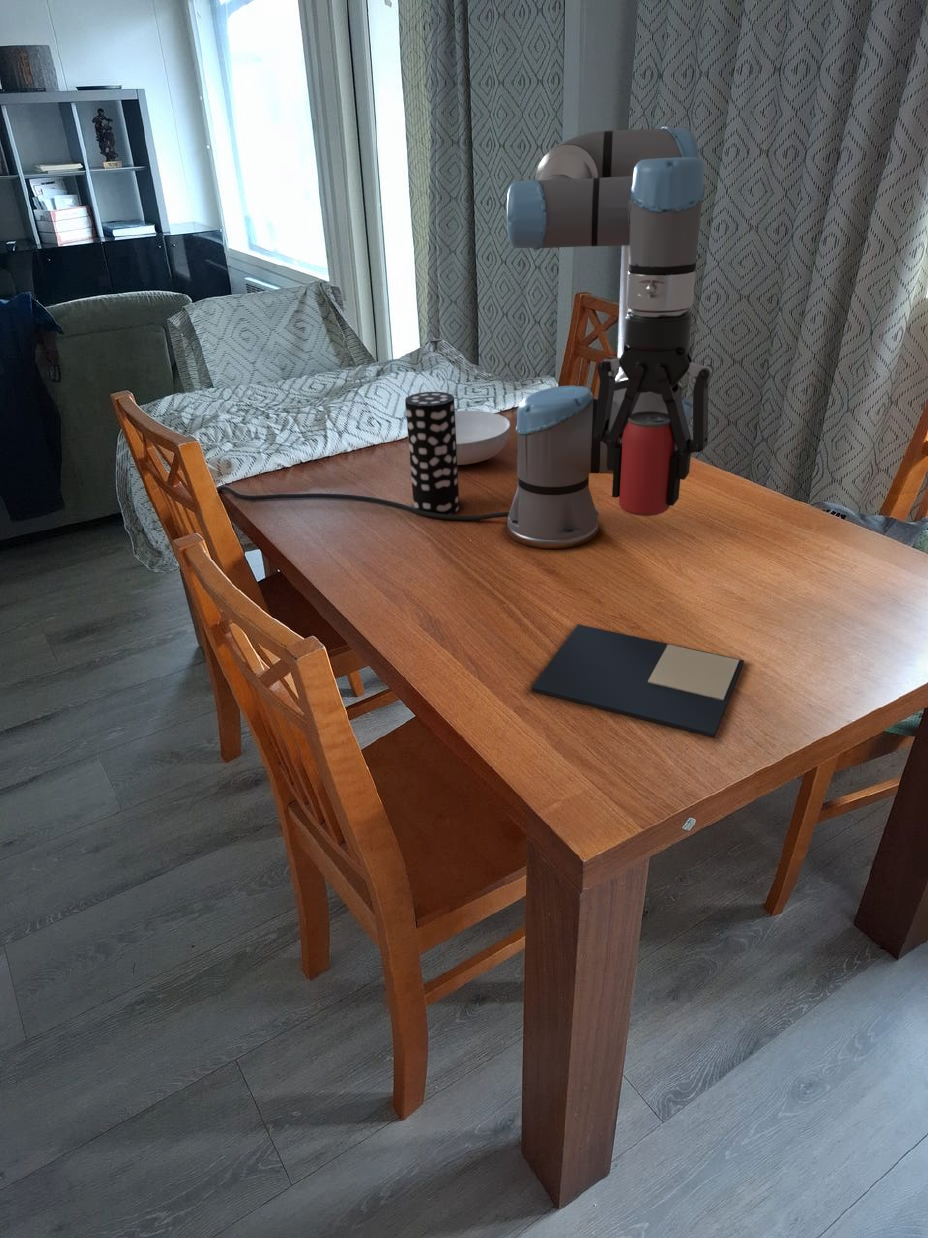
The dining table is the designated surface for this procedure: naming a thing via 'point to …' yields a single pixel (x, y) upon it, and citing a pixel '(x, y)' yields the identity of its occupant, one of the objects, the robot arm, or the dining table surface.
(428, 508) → the spotted tube
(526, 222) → the robot arm
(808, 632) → the dining table surface
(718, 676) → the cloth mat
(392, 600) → the dining table surface
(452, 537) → the dining table surface
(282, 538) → the dining table surface
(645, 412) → the beer can
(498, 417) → the serving bowl
